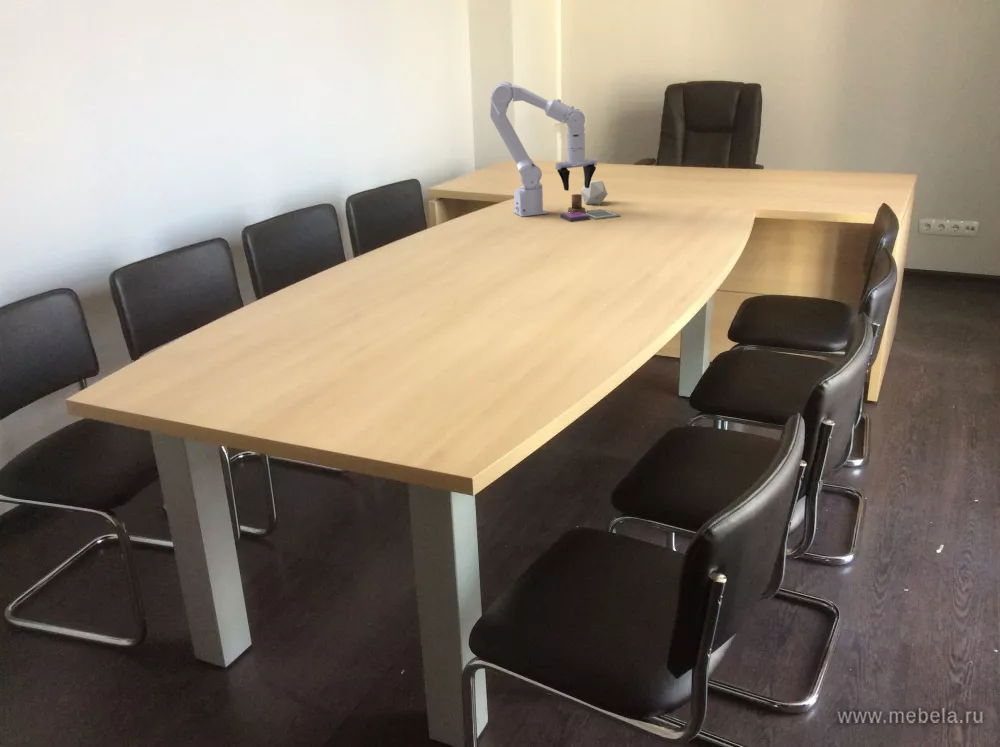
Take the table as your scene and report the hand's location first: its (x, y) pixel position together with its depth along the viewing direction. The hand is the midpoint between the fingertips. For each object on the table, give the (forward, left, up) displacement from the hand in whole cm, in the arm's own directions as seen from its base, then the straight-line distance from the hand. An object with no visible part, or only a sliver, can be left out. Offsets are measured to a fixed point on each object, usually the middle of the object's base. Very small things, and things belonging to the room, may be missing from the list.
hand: (576, 188), depth 285 cm
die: (+11, +10, -8) cm, 17 cm away
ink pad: (-5, -8, -8) cm, 12 cm away
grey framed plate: (+5, -8, -8) cm, 12 cm away
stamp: (0, 0, -8) cm, 8 cm away
